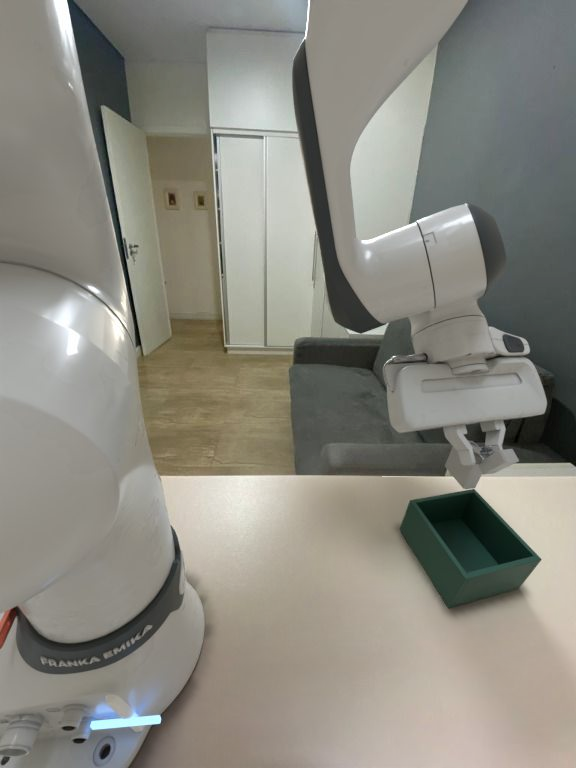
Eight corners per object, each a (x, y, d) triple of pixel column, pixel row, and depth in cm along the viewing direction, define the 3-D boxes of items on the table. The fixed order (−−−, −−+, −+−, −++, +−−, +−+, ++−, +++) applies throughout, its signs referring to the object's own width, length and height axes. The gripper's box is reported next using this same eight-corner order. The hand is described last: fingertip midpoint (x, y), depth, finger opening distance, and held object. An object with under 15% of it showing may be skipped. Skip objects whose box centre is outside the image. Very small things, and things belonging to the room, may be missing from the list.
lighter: (443, 465, 42) (463, 417, 38) (455, 464, 42) (475, 416, 38) (480, 509, 36) (508, 457, 32) (493, 507, 36) (522, 456, 32)
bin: (448, 608, 38) (465, 579, 35) (399, 528, 48) (409, 500, 44) (519, 588, 41) (542, 559, 38) (460, 516, 50) (474, 488, 47)
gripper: (394, 346, 34) (423, 475, 31) (538, 339, 39) (577, 450, 35) (368, 365, 40) (390, 475, 37) (495, 357, 45) (526, 453, 41)
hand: (483, 462), depth 36 cm, fingers closed on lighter, 2 cm apart
